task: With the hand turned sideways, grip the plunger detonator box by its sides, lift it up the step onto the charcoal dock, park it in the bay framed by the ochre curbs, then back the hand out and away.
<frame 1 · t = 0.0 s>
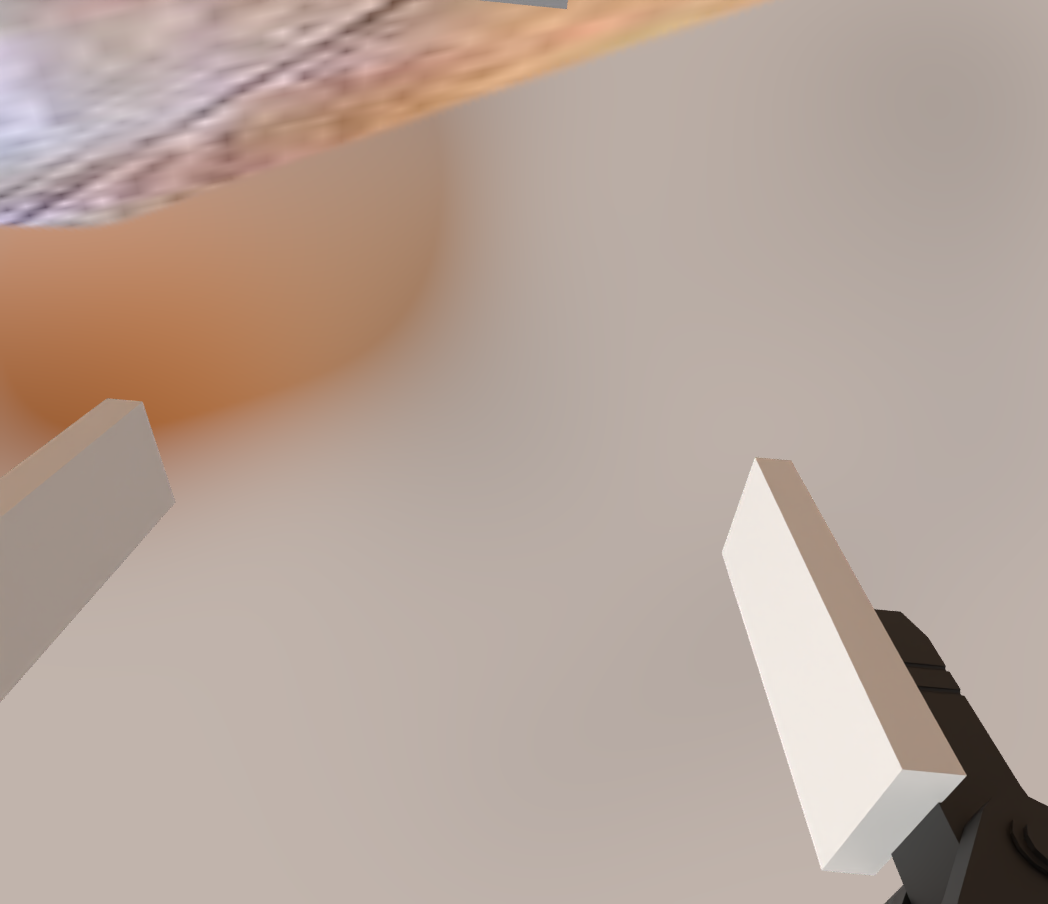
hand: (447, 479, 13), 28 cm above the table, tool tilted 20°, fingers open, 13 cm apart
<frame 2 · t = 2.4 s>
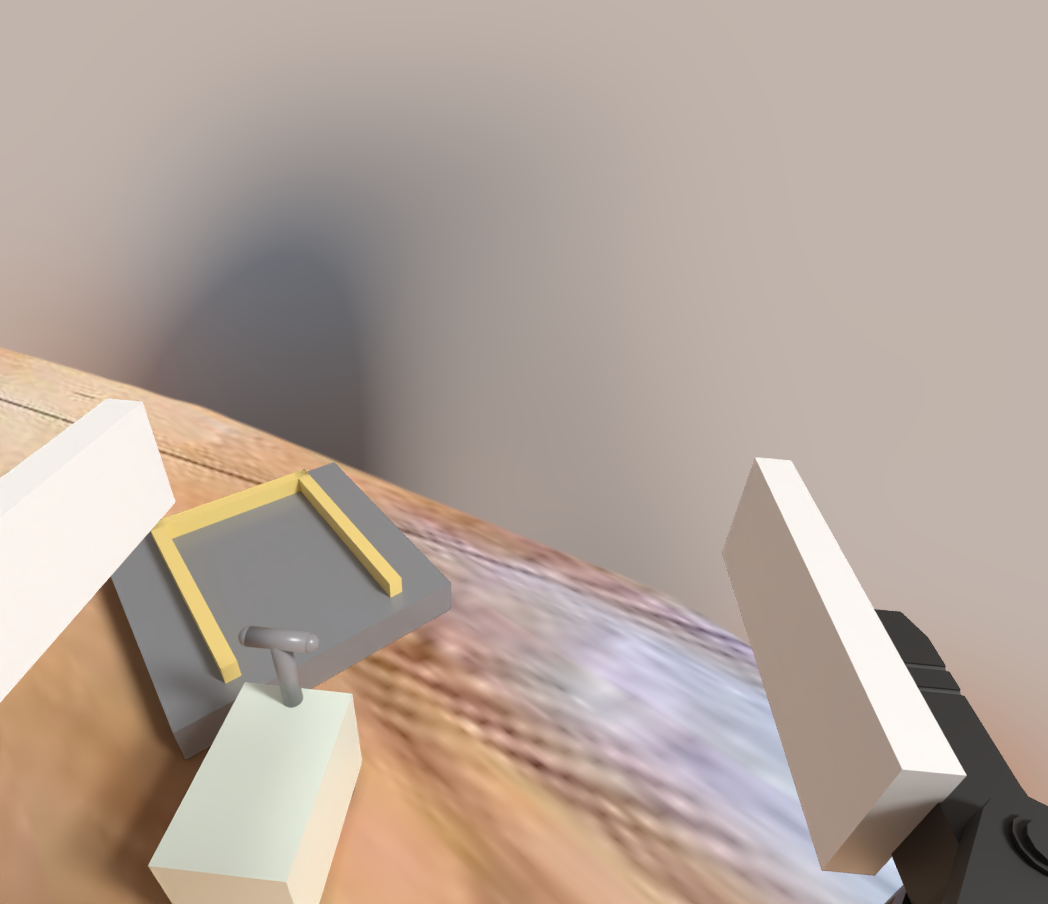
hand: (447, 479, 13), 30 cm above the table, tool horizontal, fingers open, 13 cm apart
plunger detonator box: (287, 843, 34), on the table
dock: (279, 590, 49), on the table
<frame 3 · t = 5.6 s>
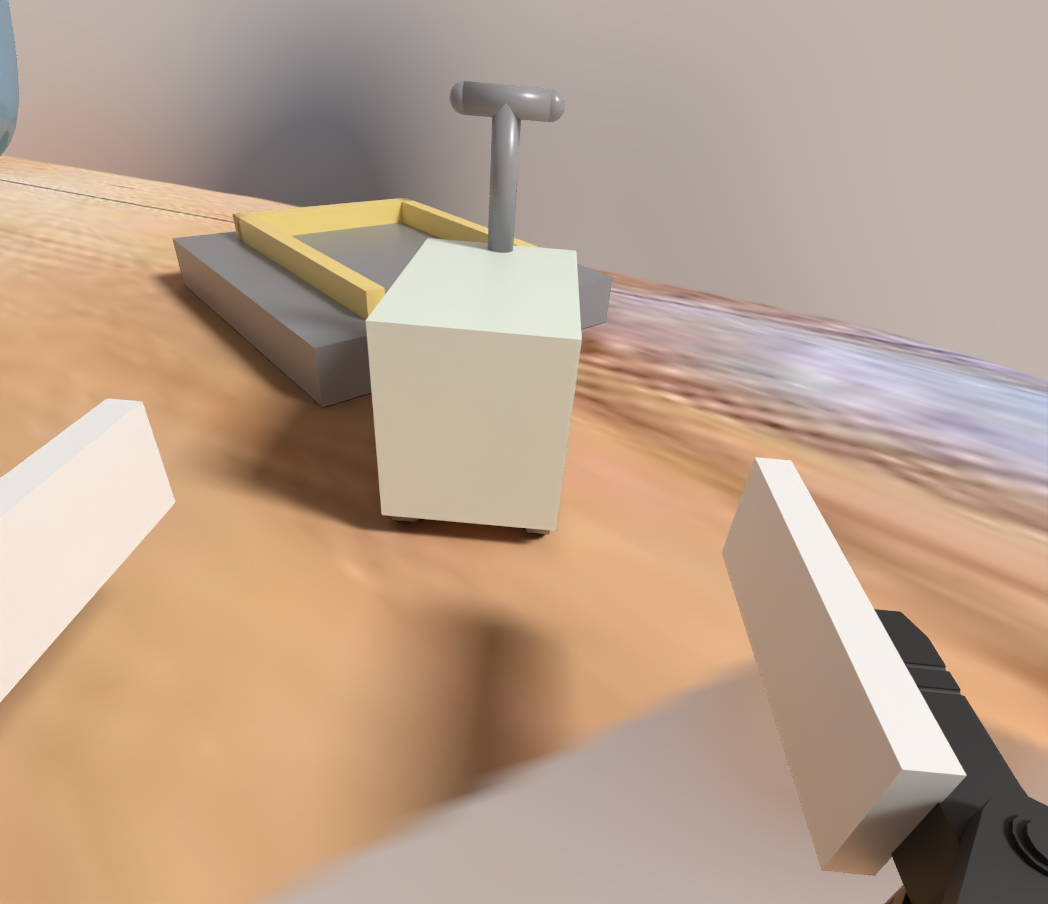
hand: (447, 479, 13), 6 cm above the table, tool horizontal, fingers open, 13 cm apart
plunger detonator box: (482, 470, 25), on the table
dock: (394, 303, 40), on the table
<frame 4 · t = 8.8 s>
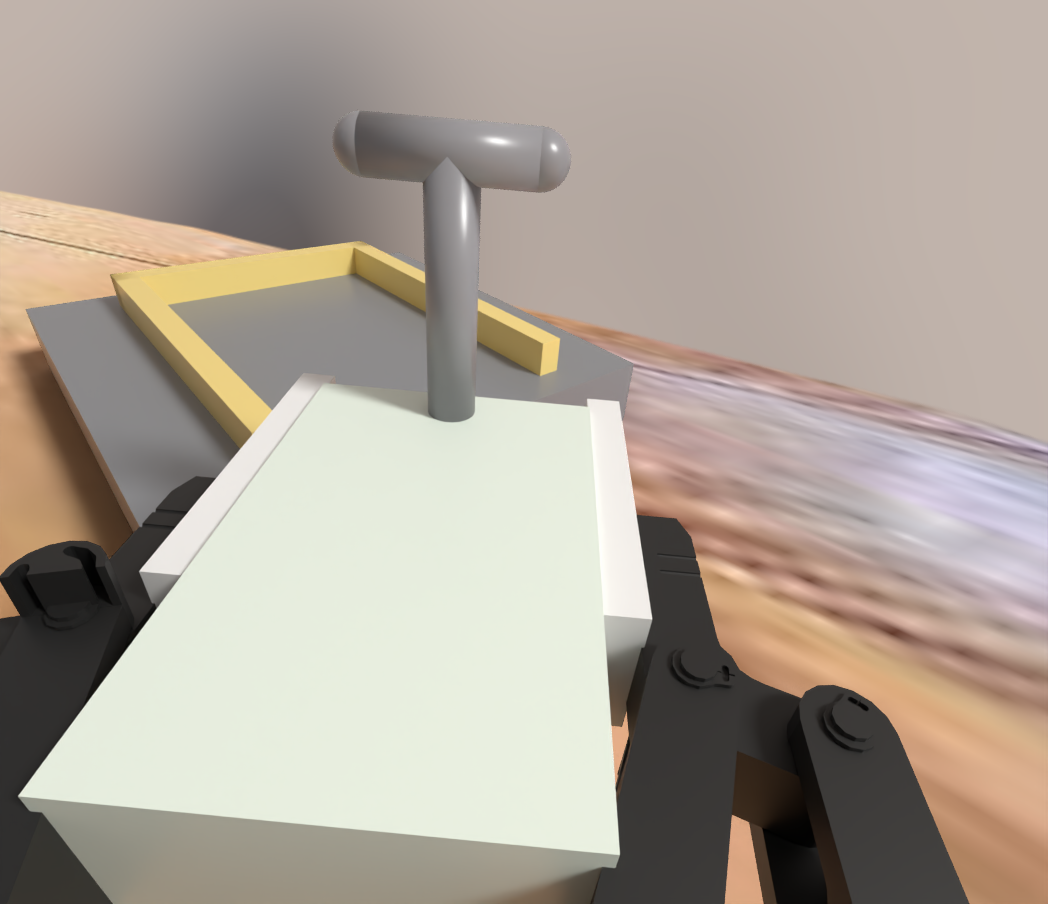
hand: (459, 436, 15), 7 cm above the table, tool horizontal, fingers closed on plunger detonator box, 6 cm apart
plunger detonator box: (425, 782, 14), on the table, touching gripper
dock: (335, 393, 29), on the table
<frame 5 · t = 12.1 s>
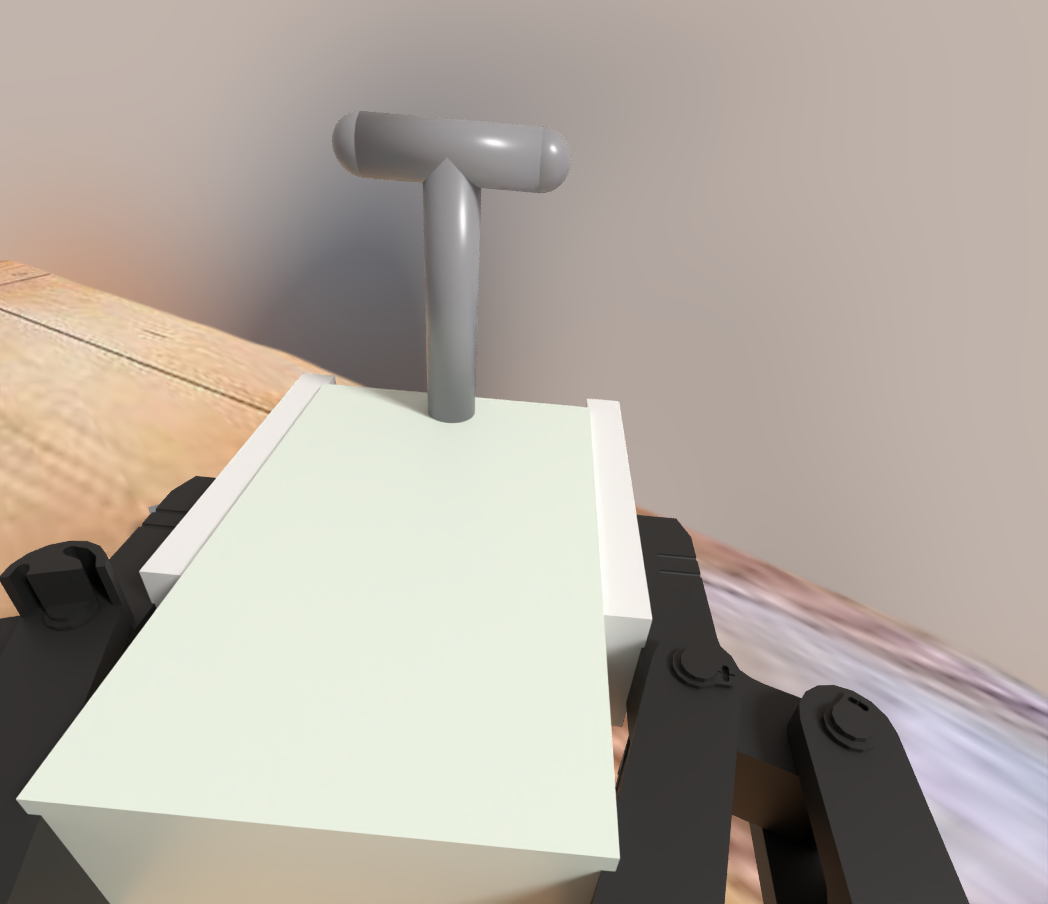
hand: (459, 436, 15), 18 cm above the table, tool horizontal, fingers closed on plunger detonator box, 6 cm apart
plunger detonator box: (424, 784, 14), point 12 cm above the table, touching gripper
when the fingers open (11 cm above the table, at t = 15.5 s): plunger detonator box drops 1 cm, resting on dock.
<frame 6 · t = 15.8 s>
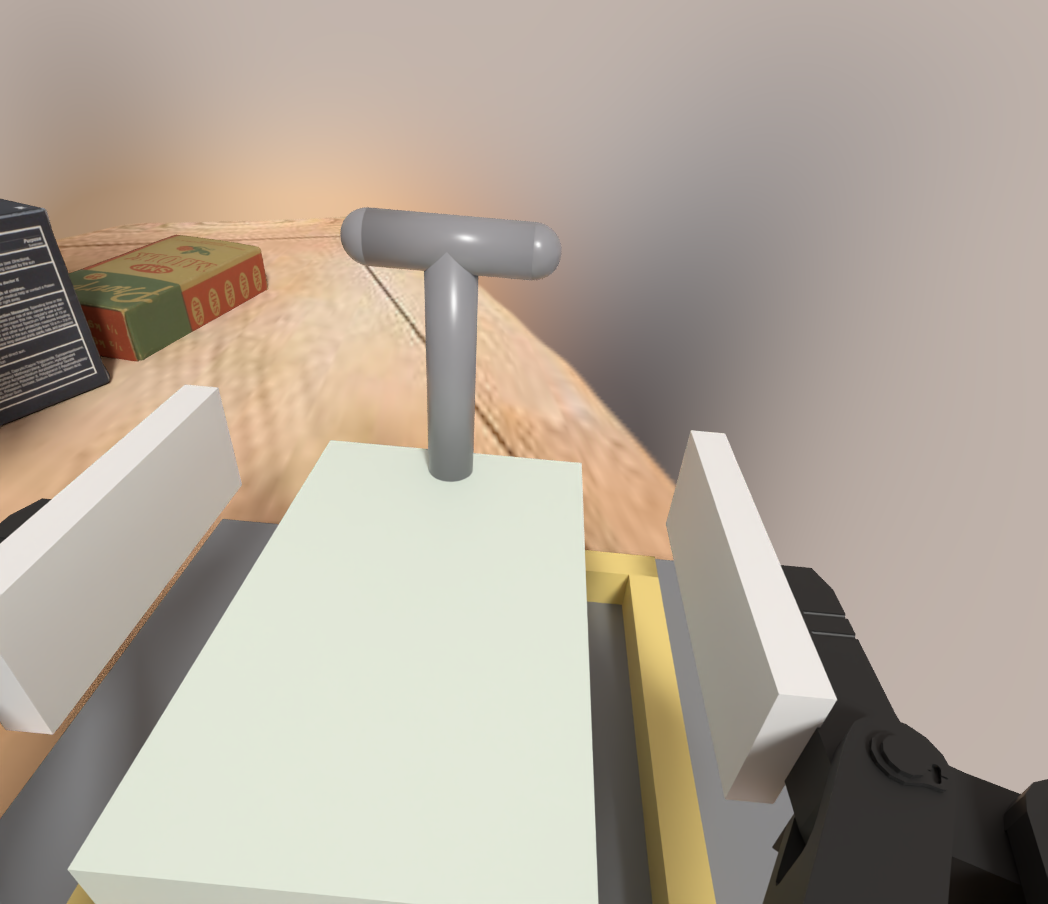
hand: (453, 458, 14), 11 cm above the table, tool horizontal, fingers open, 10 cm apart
plunger detonator box: (426, 816, 15), point 3 cm above the table, touching dock
dock: (428, 866, 17), on the table
carton: (167, 320, 47), on the table
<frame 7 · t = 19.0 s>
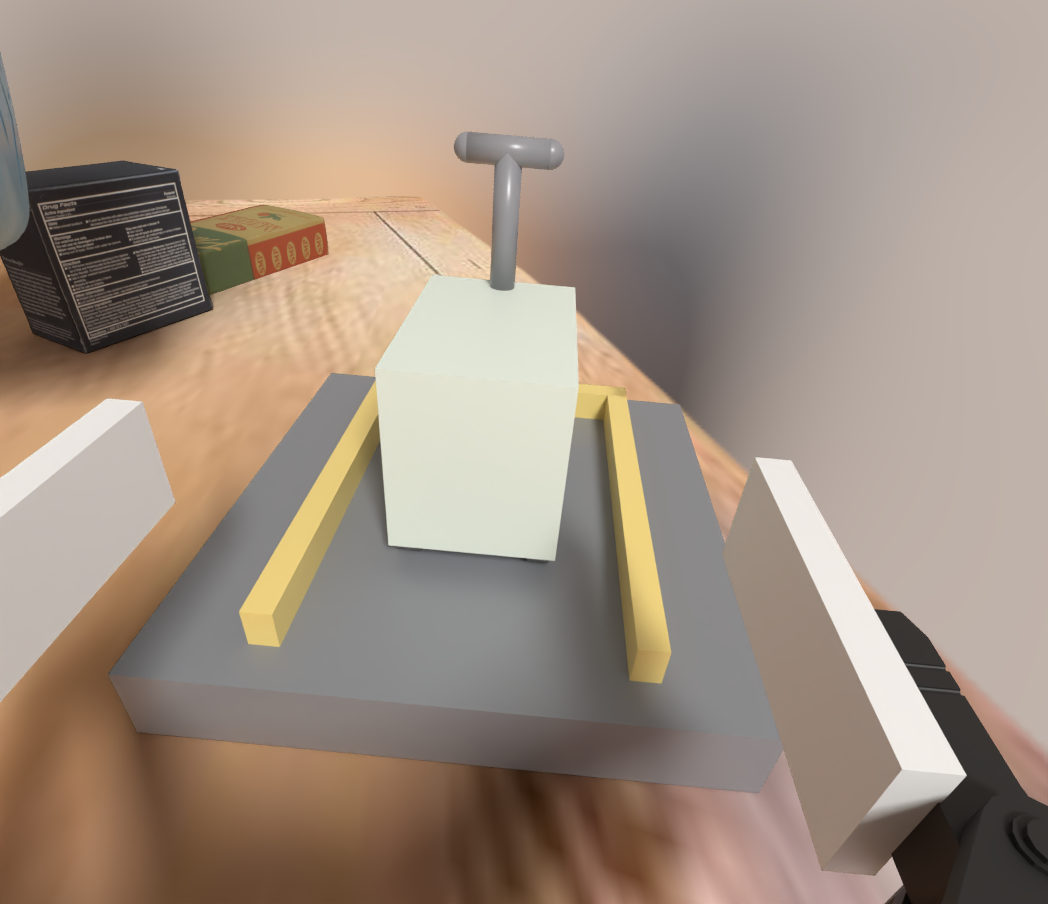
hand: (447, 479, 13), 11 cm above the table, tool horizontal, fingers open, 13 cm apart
plunger detonator box: (484, 497, 26), point 3 cm above the table, touching dock
small box: (128, 323, 45), on the table
dock: (482, 547, 27), on the table
carton: (242, 270, 58), on the table
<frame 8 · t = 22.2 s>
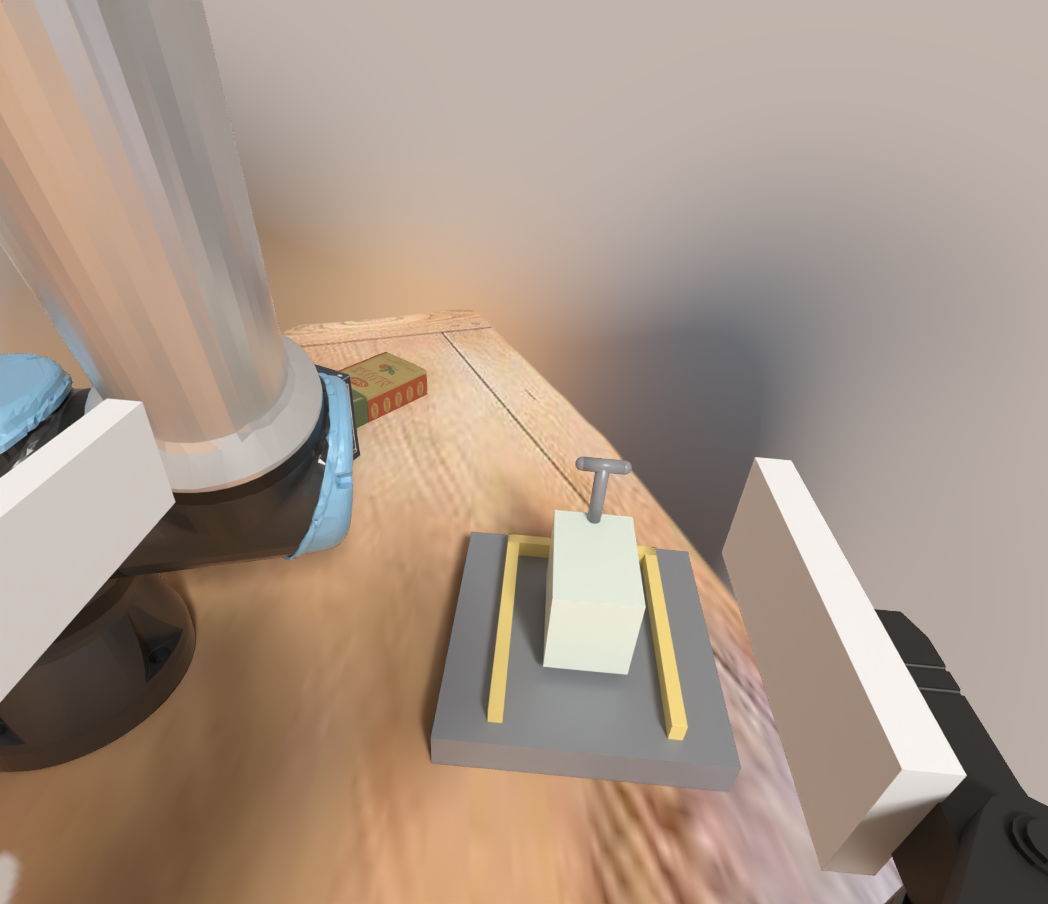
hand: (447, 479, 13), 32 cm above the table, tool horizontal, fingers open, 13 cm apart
plunger detonator box: (582, 629, 46), point 3 cm above the table, touching dock
small box: (308, 470, 66), on the table
dock: (577, 653, 48), on the table
carton: (362, 408, 79), on the table
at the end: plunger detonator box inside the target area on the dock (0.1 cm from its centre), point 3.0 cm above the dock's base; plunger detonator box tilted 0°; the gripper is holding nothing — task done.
